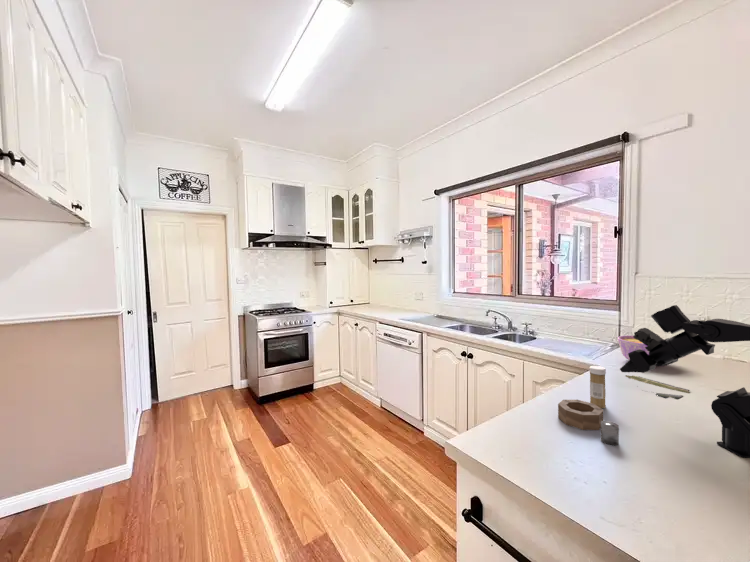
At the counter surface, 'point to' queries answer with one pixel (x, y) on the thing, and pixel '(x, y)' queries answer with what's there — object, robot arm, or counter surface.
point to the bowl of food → (630, 345)
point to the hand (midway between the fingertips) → (628, 368)
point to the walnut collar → (580, 414)
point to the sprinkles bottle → (597, 386)
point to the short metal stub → (610, 433)
